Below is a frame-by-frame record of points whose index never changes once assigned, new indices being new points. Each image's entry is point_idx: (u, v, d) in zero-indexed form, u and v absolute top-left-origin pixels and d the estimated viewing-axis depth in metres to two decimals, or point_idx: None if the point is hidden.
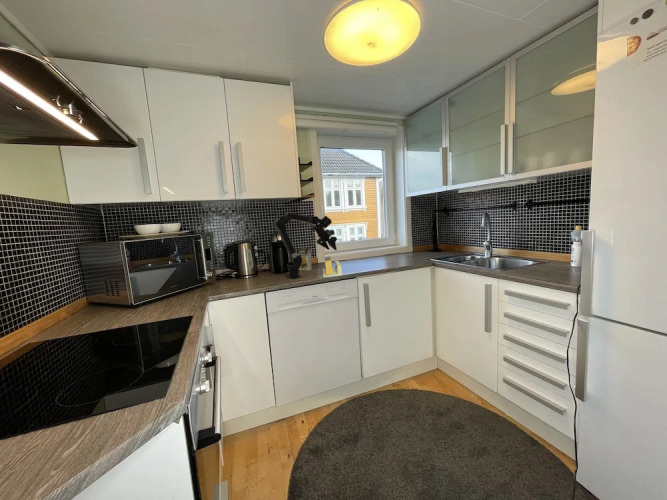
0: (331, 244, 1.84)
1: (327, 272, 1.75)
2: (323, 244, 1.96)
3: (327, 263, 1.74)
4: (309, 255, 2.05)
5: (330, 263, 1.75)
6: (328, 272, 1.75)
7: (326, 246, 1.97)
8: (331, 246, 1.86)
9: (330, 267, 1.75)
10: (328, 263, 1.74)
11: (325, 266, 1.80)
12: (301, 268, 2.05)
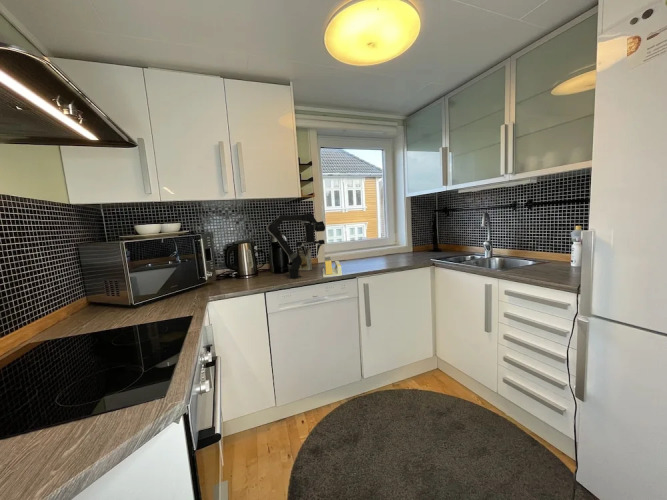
0: (321, 244, 1.80)
1: (327, 272, 1.75)
2: (304, 247, 1.80)
3: (327, 263, 1.74)
4: (309, 255, 2.05)
5: (330, 263, 1.75)
6: (328, 272, 1.75)
7: None
8: (318, 247, 1.80)
9: (330, 267, 1.75)
10: (328, 263, 1.74)
11: (325, 266, 1.80)
12: (301, 268, 2.05)
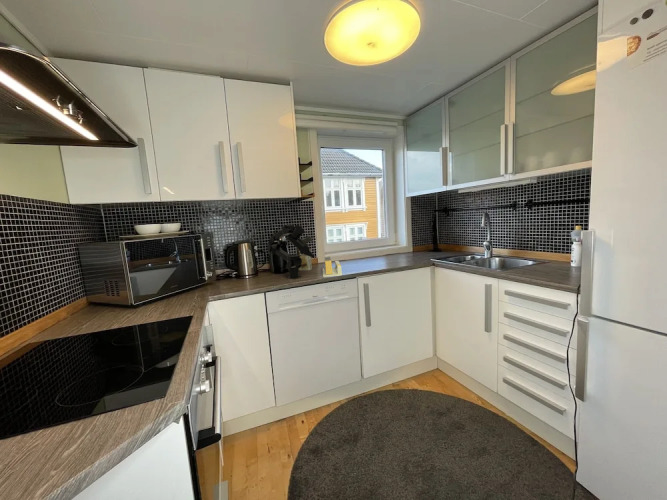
0: (303, 253, 1.73)
1: (327, 272, 1.75)
2: None
3: (327, 263, 1.74)
4: None
5: (330, 263, 1.75)
6: (328, 272, 1.75)
7: None
8: None
9: (330, 267, 1.75)
10: (328, 263, 1.74)
11: (325, 266, 1.80)
12: (301, 268, 2.05)
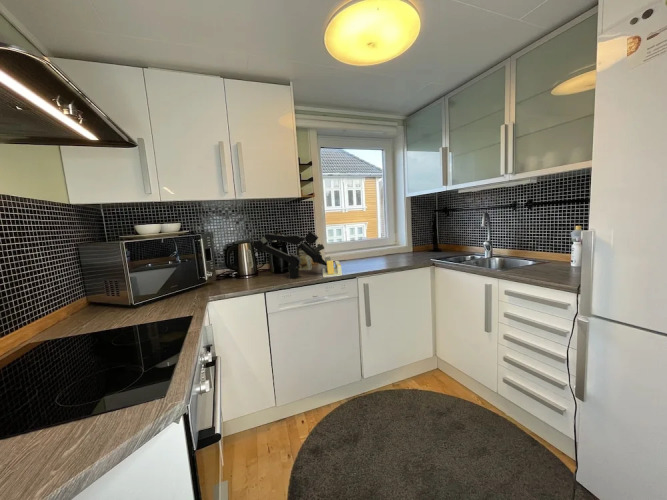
0: (316, 261, 1.73)
1: (329, 272, 1.75)
2: None
3: (329, 263, 1.75)
4: None
5: (332, 263, 1.75)
6: (330, 272, 1.75)
7: None
8: None
9: (332, 267, 1.75)
10: (330, 263, 1.75)
11: None
12: (301, 268, 2.05)
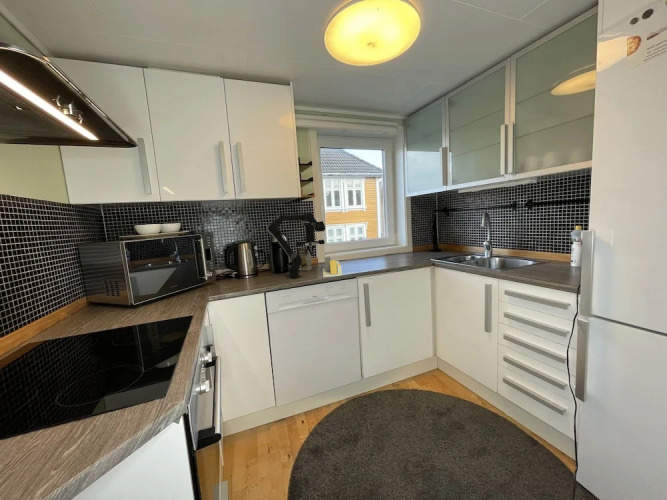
0: None
1: (332, 272, 1.75)
2: (309, 247, 1.81)
3: (332, 263, 1.75)
4: (309, 255, 2.05)
5: (335, 263, 1.75)
6: (333, 272, 1.75)
7: None
8: (313, 248, 1.80)
9: (335, 267, 1.75)
10: (333, 263, 1.75)
11: None
12: (301, 268, 2.05)
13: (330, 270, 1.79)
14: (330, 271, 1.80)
